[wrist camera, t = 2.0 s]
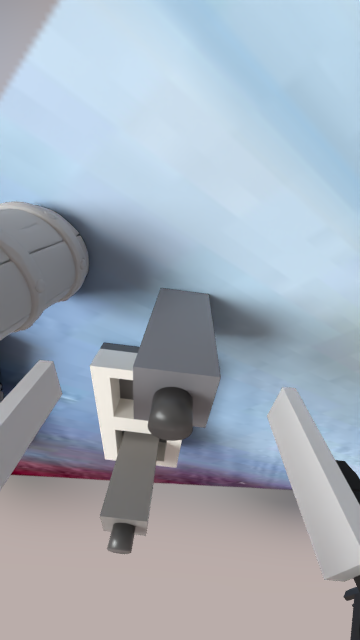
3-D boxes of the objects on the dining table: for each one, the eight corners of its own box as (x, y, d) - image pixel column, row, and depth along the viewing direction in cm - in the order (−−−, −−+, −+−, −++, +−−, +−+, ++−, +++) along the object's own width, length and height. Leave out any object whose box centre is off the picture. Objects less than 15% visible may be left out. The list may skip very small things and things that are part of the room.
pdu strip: (194, 353, 23) (194, 385, 19) (177, 442, 32) (175, 474, 28) (103, 342, 22) (86, 371, 19) (113, 434, 32) (103, 465, 28)
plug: (208, 294, 19) (224, 405, 9) (200, 333, 21) (206, 456, 11) (160, 288, 19) (123, 393, 9) (158, 327, 21) (126, 446, 11)
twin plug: (161, 420, 28) (143, 546, 18) (159, 438, 30) (142, 558, 20) (128, 416, 28) (92, 541, 18) (129, 434, 30) (97, 553, 20)
